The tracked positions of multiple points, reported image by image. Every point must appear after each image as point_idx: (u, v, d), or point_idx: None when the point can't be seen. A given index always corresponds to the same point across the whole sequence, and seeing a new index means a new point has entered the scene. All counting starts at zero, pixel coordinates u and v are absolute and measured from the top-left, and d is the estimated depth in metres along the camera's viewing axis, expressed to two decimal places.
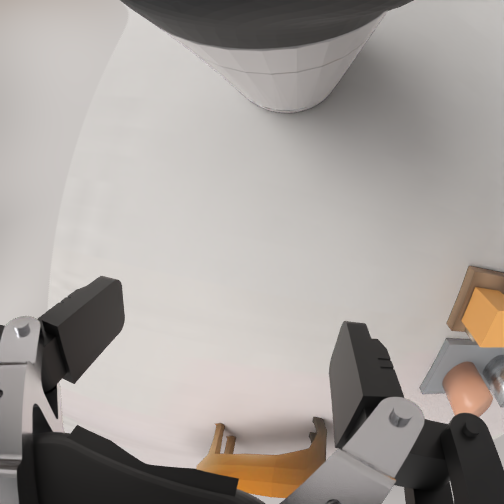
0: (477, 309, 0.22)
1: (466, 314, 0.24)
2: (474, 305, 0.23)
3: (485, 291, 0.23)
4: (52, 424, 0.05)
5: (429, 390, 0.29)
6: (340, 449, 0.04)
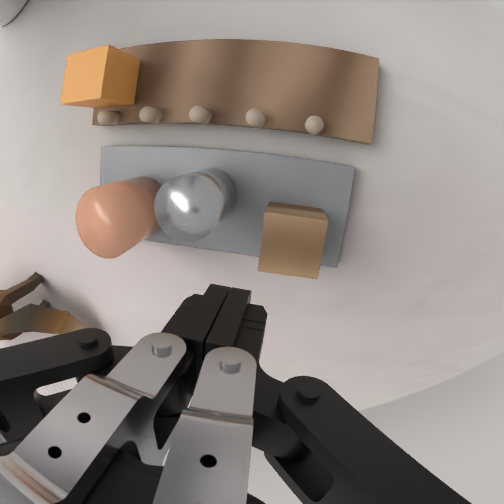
0: None
1: None
2: None
3: None
4: (147, 456, 0.05)
5: None
6: (185, 409, 0.04)
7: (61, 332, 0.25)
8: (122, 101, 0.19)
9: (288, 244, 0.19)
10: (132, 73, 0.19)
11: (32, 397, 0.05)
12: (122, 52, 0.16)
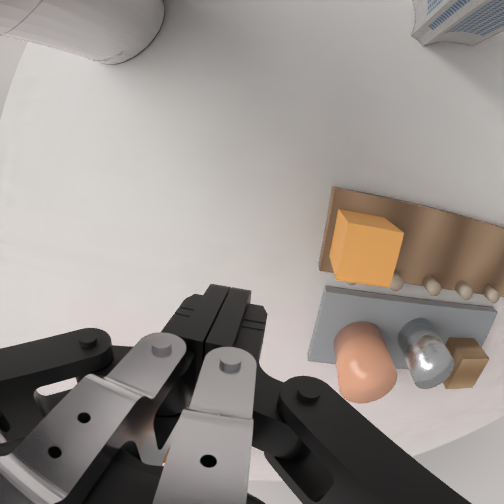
0: (337, 233, 0.22)
1: (332, 245, 0.23)
2: (336, 230, 0.22)
3: (352, 212, 0.22)
4: (147, 456, 0.05)
5: (317, 357, 0.28)
6: (185, 409, 0.04)
7: None
8: None
9: (467, 373, 0.22)
10: None
11: (32, 397, 0.05)
12: None
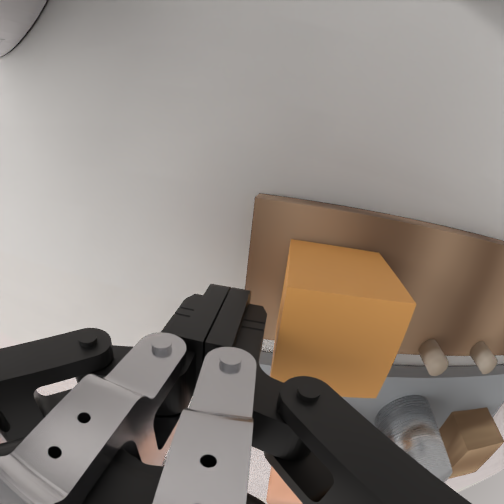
0: (283, 290, 0.12)
1: (280, 304, 0.13)
2: (284, 281, 0.12)
3: (315, 248, 0.12)
4: (147, 457, 0.05)
5: None
6: (185, 409, 0.04)
7: None
8: None
9: (471, 462, 0.12)
10: None
11: (32, 397, 0.05)
12: None
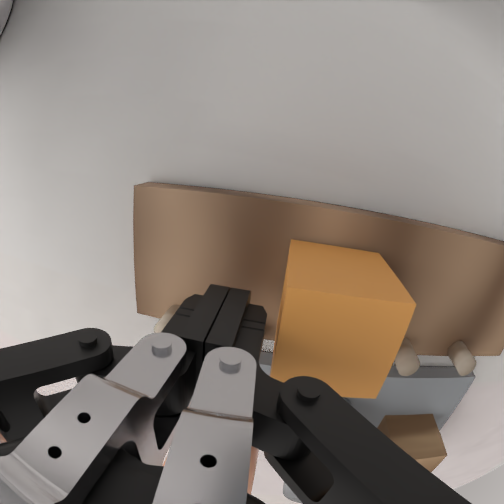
0: (283, 290, 0.12)
1: (280, 304, 0.13)
2: (284, 282, 0.12)
3: (315, 248, 0.12)
4: (147, 456, 0.05)
5: None
6: (185, 409, 0.04)
7: None
8: None
9: None
10: None
11: (32, 397, 0.05)
12: None
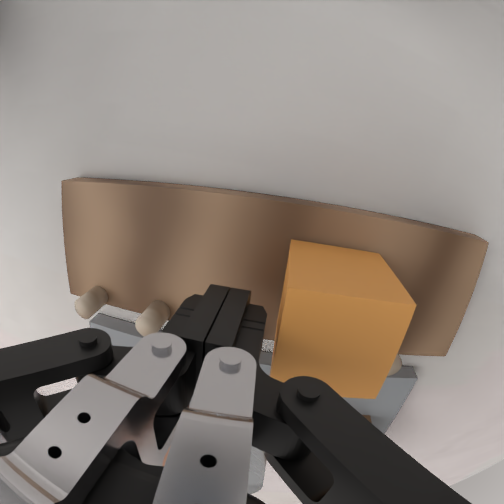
0: (283, 290, 0.12)
1: (280, 304, 0.13)
2: (284, 282, 0.12)
3: (315, 248, 0.12)
4: (147, 456, 0.05)
5: None
6: (185, 409, 0.04)
7: None
8: None
9: None
10: None
11: (32, 397, 0.05)
12: None
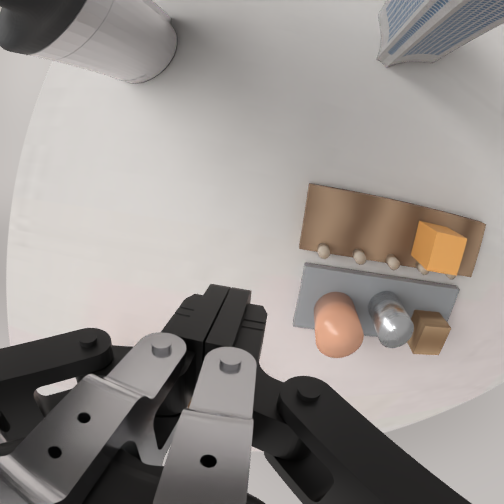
0: (422, 238, 0.28)
1: (414, 247, 0.29)
2: (419, 236, 0.28)
3: (429, 224, 0.28)
4: (147, 456, 0.05)
5: (300, 323, 0.35)
6: (185, 409, 0.04)
7: None
8: None
9: (431, 340, 0.30)
10: None
11: (32, 397, 0.05)
12: (458, 234, 0.26)
